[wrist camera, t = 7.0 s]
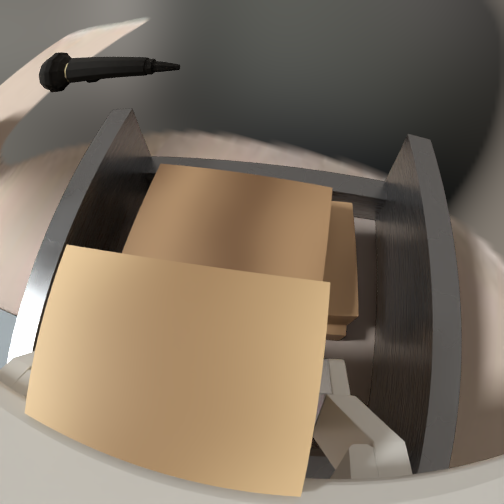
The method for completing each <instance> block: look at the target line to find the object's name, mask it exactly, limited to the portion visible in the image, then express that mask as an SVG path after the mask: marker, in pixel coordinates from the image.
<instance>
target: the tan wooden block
mask: <svg viewBox="0 0 504 504" xmlns="http://www.w3.org/2000/svg"><path fill="white" fill-rule="evenodd" d="M329 295H330V282H323V281H315V280H307V279H299V278H291V277H284V276H276V275H268V274H261V273H253V272H246V271H239V270H231V269H224V268H217V267H210V266H203V265H196V264H189V263H182V262H175V261H168V260H162V259H155V258H148V257H142V256H135V255H129V254H122V253H116V252H110V251H103V250H97V249H91V248H85V247H79V246H73V245H66V248H65V251H64V253H63V256H62V259H61V261H60V264H59V267H58V270H57V273H56V276H55V279H54V282H53V285H52V288H51V292H50V295H49V298H48V302H47V305H46V308H45V312H44V316H43V319H42V323H41V327H40V331H39V335H38V339H37V344H36V348H35V353H34V358H33V363H32V368H31V373H30V379H29V385H28V391H27V398H26V406H25V414H27V415H28V416H30V417H32V418H34V419H35V420H37V421H39V422H41V423H42V424H44V425H46V426H48V427H50V428H52V429H53V430H55V431H57V432H59V433H61V434H63V435H65V436H67V437H69V438H71V439H73V440H75V441H78V442H80V443H82V444H84V445H86V446H89V447H91V448H93V449H96V450H98V451H100V452H103V453H105V454H108V455H110V456H113V457H115V458H118V459H120V460H123V461H126V462H129V463H132V464H134V465H137V466H140V467H143V468H146V469H150V470H153V471H156V472H159V473H163V474H166V475H170V476H173V477H177V478H181V479H185V480H189V481H193V482H197V483H202V484H207V485H211V486H216V487H222V488H227V489H233V490H239V491H246V492H254V493H262V494H271V495H282V496H296V497H301V494H302V489H303V485H304V480H305V475H306V470H307V465H308V460H309V454H310V449H311V443H312V437H313V431H314V425H315V419H316V412H317V406H318V399H319V391H320V384H321V376H322V368H323V359H324V350H325V341H326V331H327V320H328V308H329Z"/></svg>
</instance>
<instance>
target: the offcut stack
mask: <svg viewBox="0 0 504 504" xmlns="http://www.w3.org/2000/svg"><path fill="white" fill-rule="evenodd" d="M331 200H332V188H331V187H326V186H321V185H315V184H310V183H304V182H298V181H292V180H286V179H280V178H274V177H268V176H261V175H254V174H247V173H240V172H232V171H225V170H217V169H208V168H200V167H190V166H181V165H170V164H160V166H159V168H158V170H157V172H156V174H155V176H154V178H153V181H152V183H151V185H150V187H149V189H148V191H147V194H146V196H145V198H144V200H143V203H142V205H141V207H140V209H139V212H138V214H137V216H136V219H135V221H134V224H133V226H132V228H131V231H130V233H129V236H128V238H127V241H126V243H125V246H124V249H123V251H122V254H129V255H135V256H142V257H148V258H155V259H162V260H168V261H175V262H182V263H189V264H196V265H203V266H210V267H217V268H224V269H231V270H239V271H246V272H253V273H261V274H268V275H276V276H284V277H291V278H299V279H307V280H315V281H323V282H330V295H329V308H328V320H327V331H326V340H334V341H339V340H340V339H342V338H343V337H345V336H346V325H348V324H349V323H351V322H352V321H353V320H354V319H356V318H357V317H358V278H357V258H356V242H355V229H354V217H353V206H352V203H348V202H338V201H331Z"/></svg>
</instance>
